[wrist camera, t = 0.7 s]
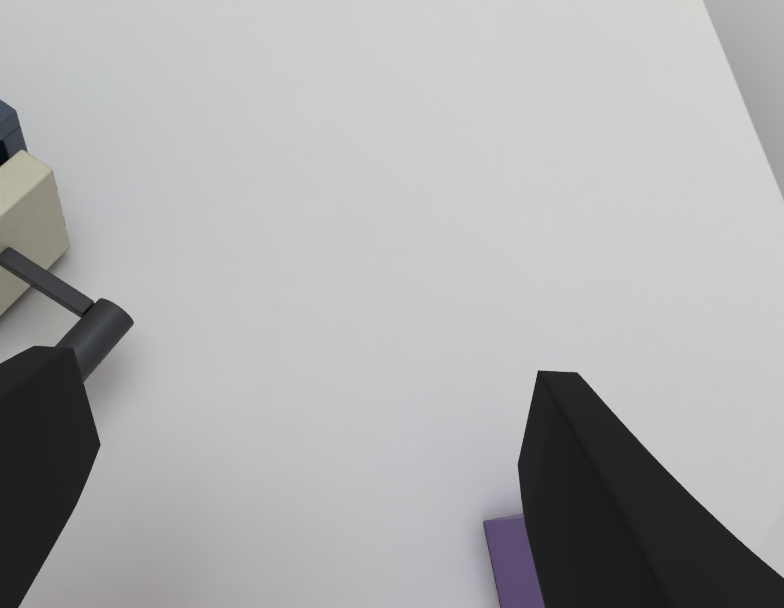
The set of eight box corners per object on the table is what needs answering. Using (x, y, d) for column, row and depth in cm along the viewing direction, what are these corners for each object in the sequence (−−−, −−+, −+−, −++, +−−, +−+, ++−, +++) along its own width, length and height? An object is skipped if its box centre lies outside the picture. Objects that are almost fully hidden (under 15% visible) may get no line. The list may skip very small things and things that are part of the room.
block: (584, 604, 28) (653, 612, 25) (504, 627, 27) (564, 638, 23) (561, 506, 30) (622, 499, 26) (482, 521, 28) (536, 516, 24)
